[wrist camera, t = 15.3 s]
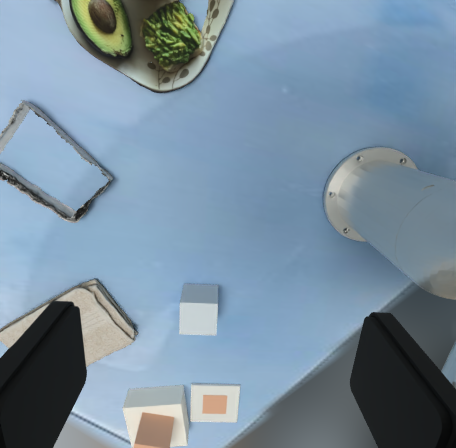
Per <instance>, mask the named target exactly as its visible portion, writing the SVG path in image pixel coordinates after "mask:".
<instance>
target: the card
mask: <svg viewBox="0 0 456 448" xmlns="http://www.w3.org/2000/svg"><path fill="white" fill-rule="evenodd" d="M239 394H240V385H239V384H201V383H191V415H190V422H237V416H238V405H239Z"/></svg>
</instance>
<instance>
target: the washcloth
mask: <svg viewBox="0 0 456 448" xmlns="http://www.w3.org/2000/svg"><path fill="white" fill-rule="evenodd" d="M52 301H72V302H73V303H74V305H75V306H78V307H79V309H80V316H81V325H82V334H83V343H84V352H85V361H86V366H88V365H90V364H91V363H94V362H96V361H97V360H100V359H101V358H103V357H105V356H107V355H109V354H111V353H113V352H114V351H118V350H120V349H122V348H124V347H126V346H128V345H131V343H133V342H134V341H135V337H134V336H135V335H137V334H138V332H137V331H135V330H134V329H133V325H132V322H131V320H130V319H129V318H128V316H127V315H126V314H125V312H124V311H123V310H122V309H121V308H120V307H119V306H118V305H117V304H116V302H115V301H114V300H113V298H112V297H111V296H110V294H109V293H108V292H107V291H106V290H105V288H104V287H103V286H102V285H101V284H100V282H98V280H96V279H93V280H90V281H89V282H85V283H82V284H81V285H78V286H76V287H73V288H71V289H69V290H67V291H65V292H64V293H62V294H60V295H58V296H57V297H55V298H53V299H51V300H49V301H47V302H46V303H44V304H42V305H40V306H39V307H37V308H35V309H33V310H32V311H30V312H28V313H27V314H25V315H23V316H21V317H19V318H17V319H16V320H14V321H12V322H10V323H9V324H7V325H6V326H4V327H3V328H2V329H0V341H1V342H3V343H4V344H5V345H6V346H7V347H8V348H10V347H11V346H12V345H13V344H14V343H15V342H16V341H17V340H18V339H19V338H20V337H21V336H22V334H23V333H24V332H25V331H26V330H27V329H28V328H29V327H30V325H31V324H32V323H33V322H34V321H35V320H36V319H37V318H38V316H39V315H40V314H41V313H42V312H43V311H44V310H45V309H46V307H47V306H48V305H49V304H50V303H51V302H52Z"/></svg>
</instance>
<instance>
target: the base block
mask: <svg viewBox="0 0 456 448" xmlns="http://www.w3.org/2000/svg"><path fill="white" fill-rule="evenodd" d="M123 412H124V416H125V420H126V425H127V429H128V433H129V437H130V442H131V446H132V448H133V447H134V443H135V439H136V435H137V431H138V427H139V423H140V420H141V416H142V412H145V413H152V414H158V415H164V416H171V417H174V422H173V429H172V436H171V443H170V447H173V446H187V444H188V433H189V419H188V412H187V406H186V399H185V392H184V385H175V386H161V387H147V388H133V389H129V390H128V393H127V396H126V399H125V402H124V406H123Z"/></svg>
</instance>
